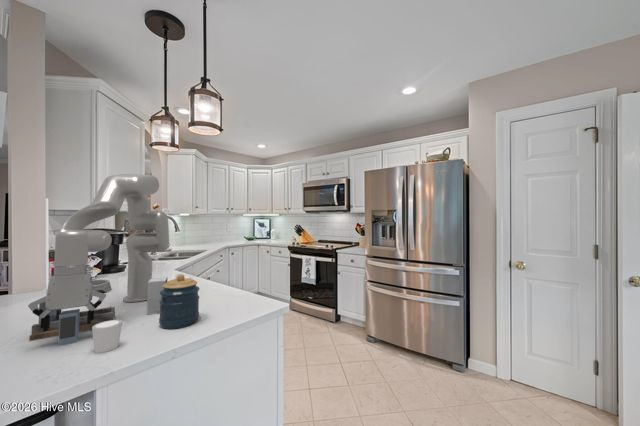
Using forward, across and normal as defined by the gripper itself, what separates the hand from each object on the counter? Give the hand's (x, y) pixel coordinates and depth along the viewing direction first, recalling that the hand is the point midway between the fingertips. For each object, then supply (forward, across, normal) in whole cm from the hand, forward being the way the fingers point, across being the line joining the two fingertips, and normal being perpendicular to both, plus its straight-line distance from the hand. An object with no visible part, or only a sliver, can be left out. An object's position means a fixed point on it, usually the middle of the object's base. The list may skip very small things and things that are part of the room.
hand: (68, 326), depth 79 cm
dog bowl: (+4, +3, -67) cm, 67 cm away
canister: (+5, -30, +3) cm, 31 cm away
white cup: (+5, -10, +12) cm, 16 cm away
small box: (+5, -24, -16) cm, 30 cm away
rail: (+4, 0, -13) cm, 14 cm away
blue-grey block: (+5, 0, 0) cm, 5 cm away
